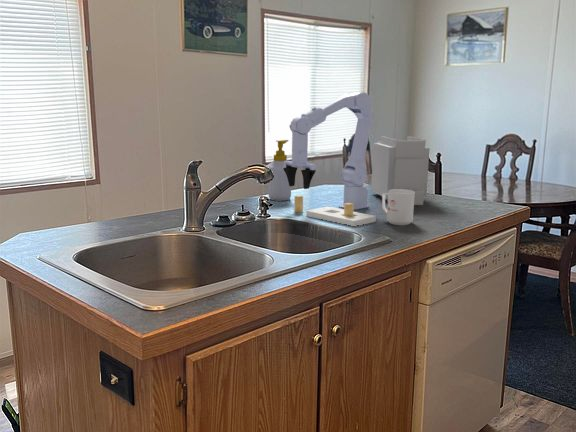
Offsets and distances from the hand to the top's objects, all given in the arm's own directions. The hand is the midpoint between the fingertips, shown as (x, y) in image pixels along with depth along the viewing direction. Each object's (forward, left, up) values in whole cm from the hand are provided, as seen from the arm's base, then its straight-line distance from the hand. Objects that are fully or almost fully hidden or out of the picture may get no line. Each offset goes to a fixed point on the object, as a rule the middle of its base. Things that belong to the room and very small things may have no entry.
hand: (299, 187), depth 205 cm
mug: (-14, +34, -10) cm, 38 cm away
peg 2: (-3, +22, -9) cm, 24 cm away
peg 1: (0, 0, -9) cm, 9 cm away
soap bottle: (-12, -23, -10) cm, 28 cm away
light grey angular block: (-53, +8, -10) cm, 54 cm away
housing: (-3, +18, -9) cm, 20 cm away
